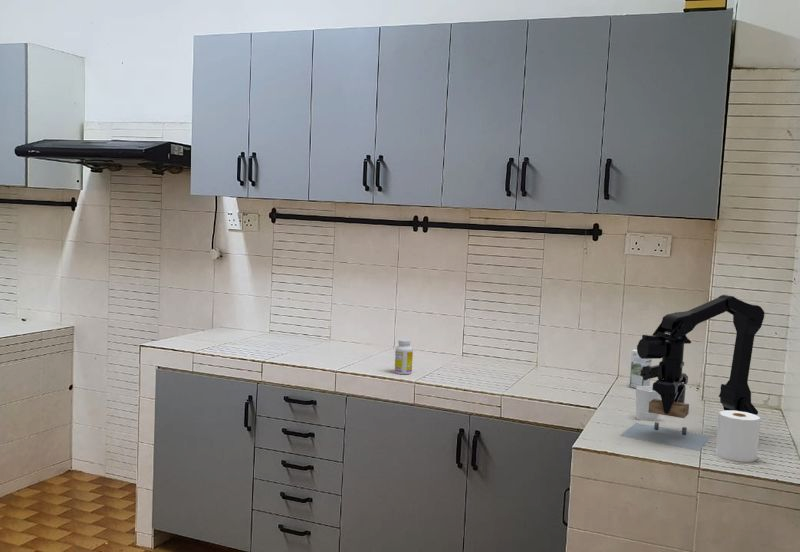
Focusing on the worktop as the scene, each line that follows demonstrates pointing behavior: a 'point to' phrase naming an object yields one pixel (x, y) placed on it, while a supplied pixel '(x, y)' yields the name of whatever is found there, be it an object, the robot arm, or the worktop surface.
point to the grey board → (666, 436)
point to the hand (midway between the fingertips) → (668, 411)
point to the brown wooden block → (675, 411)
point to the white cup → (645, 403)
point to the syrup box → (638, 370)
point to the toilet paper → (737, 435)
